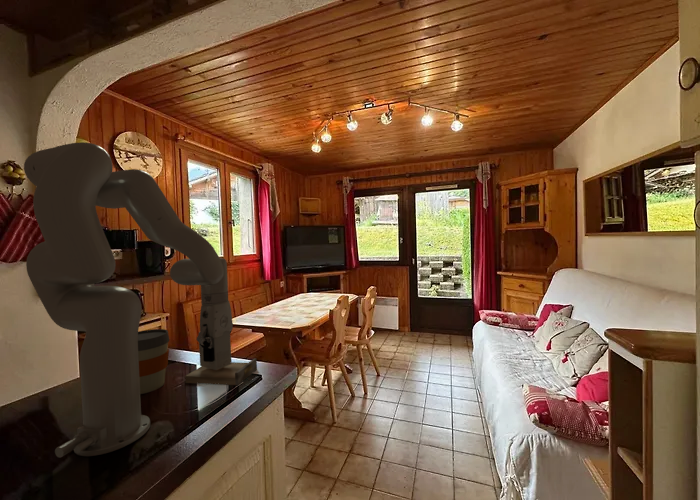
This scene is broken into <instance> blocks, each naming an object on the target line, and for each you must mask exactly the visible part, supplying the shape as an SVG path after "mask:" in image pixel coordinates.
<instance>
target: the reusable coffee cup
mask: <svg viewBox="0 0 700 500" xmlns="http://www.w3.org/2000/svg"><path fill="white" fill-rule="evenodd" d="M169 342H170V336H169V331H168V330H167V329H165V328H164V329H162V328H157V329H156V328H155V329H145V330H138V359H139V379H140V395H143V394H147V393H150V392H155V391H157V390H158V389H160V388H161V387H163V386H164V385H165V379H166V369H167V367H168V365H169V356H170V355H169V352H170V350H169V349H168V347H169Z"/></svg>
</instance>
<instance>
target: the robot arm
mask: <svg viewBox="0 0 700 500" xmlns="http://www.w3.org/2000/svg"><path fill="white" fill-rule="evenodd" d="M23 164H24V165H23V170H24V174H25V176H26V178H27V179H28V180H29V181H30V183H31V184H33V185H34V186H35V189H34V193H33V202H32V203H33V204H32V205H33V212H34V217H35V219H36V223H37V224H38V227H39V229H40V232H41V234H42V237H43V240H44V241H42V242H40V243H38V244H36V245H35V246H34V247H33V248H32V249H31V250H30V251H29V253H28V255H27V258H26V262H25V263H26V264H25V266H26V267H25V268H26V273H27V276H28V278H29V281H30V282H31V284H32V286H33V288H34V290H35V291H36V294H37V296H38V298H39V300H40V302H41V303H42V304H43V305H42V306H43V307H44V309H45V311H46V313H47V315H48V316H49V318H50V319H51V320H52V321H53V323H55V324H56V325H57V326H58V327H60V328H62V329H65V330H69V331H76V332H85V336H84V340H83V342H82V346H81V348H80V353H79V370H80V371H79V373H80V387H81V388H80V390H81V405H82V406H81V407H82V409H81V410H82V425H80V426H79V427H77V429H76V432H77V434H75V435H74V436H73V438H71V439H70V440H68V441H66V442H64V443H62V444H61V445H59V446H57V447H56V448H55V450H54V453H55V456H56V457H57V458H63V457H64V456H66V455H68V454H69V453H71V452H72V451H73V452H74V454H76V455H77V456H80V457H95V456H100V455H106V454H108V453H112V452H114V451H117V450H120V449H122V448H125V447H126V446H128V445H131V444H133V443H134V442H136V441H137V440H139V439H140V438H141V437H143V436H144V435H145V434H146V433H147V432H148V430H149V429H150V427H151V419H150V417H149V416H147V415H145V414H142V407H141V406H142V404H141V403H142V402H141V394H140V379H139V359H138V332H139V329H140V322H141V318H142V317H141V316H142V302H141V300H140V298H139V296H138V295H137V293H136V292H134V291H133V290H131V289H128V288H126V287H123V286H118V285H95V284H99V283H103V282H104V281H106V280H108V279H110V278H111V276H113V274H114V273H115V270H116V260H115V256H114V253H113V251H112V249H111V245H110V243H109V241H108V238H107V235H106V234H105V232H104V229H103V227H102V223H101V222H100V218H99V216H98V212H97V207H100V208H105V209H111V210H112V209H115V210H117V209H123V208H125V209H126V211H127V212H128V213H129V215H130V217H132V218H133V220H134V222H135V223H136V224H137V226H138V227H139V228H140V230H141V231H142V232H143V234H144V235H145V236H146V238H147V239H148V240H150V241H152V242H154V243H156V244H159V245H161V246H164V247H165V248H166V247H167V248H169V249H172V250H175V251H177V252H179V253H180V254H183V256H186V257H187V258H183V259H179V260H177V261H176V262H174V263H173V264H172V265H171V267H170V271H169V275H170V278H171V279H172V281H173V282H175V283H176V284H178V285H181V286H200V299H201V302H200V304H201V305H200V306H201V307H200V313H199V314H200V315H199V332H200V333H199V332H198V335H197V337H196V341H197V342H198V345H199V344H200V345H201V347H202V348H203V359H204V361H205V362H213V361H214V348H212V346H213V338H214V339H216V338H219V337H221V336H222V335H223V333H224V332H225V331H227V330H229V331H230V334H231V333H232V330H233V328H234V322H233V314H232V308H231V303H230V300H229V289H228V288H229V287H228V286H229V285H228V284H229V283H228V264H227V259H226V258H223V257H220V256H219V254H218V253H217V250H215V248H214V247H213V245H212V244H211V243H210V242H209V241H208V240H207V239H206V238H205V237H203V236H202V235H201V234H199V232H197V231H195V230H194V229H193V228H191V227H190V226H188V225H186V224H185V223H184V222H182V220H181V219H180V218H179V216H178V214H177V213H176V211H175V210H174V208H173V207H172V205H171V203H170V201H169V200H168V199H167V197H166V195H165V193H163V191H162V189H161V187H160V186H159V185H158V183H157V181H156V180H155V179H154V177H153V176H152V175H151V174H149V173H148V172H147V171H145V170H141V169H123V170H116V171H113V169H114V168H113V167H114V165H113V161H112V158H111V156H110V154H109V153H108V151H106V150H105V148H103V147H101V146H100V145H98V144H96V143H92V142H72V143H67V144H61V145H58V146H55V147H50V148H45V149H41V150H38V151H35V152H32V153H31V154H30V155H28V156H27V158H26V159H25V160H24V163H23ZM208 335H210V337H208ZM230 338H231V335H230ZM207 340H210V342H209V343H208V342H207Z"/></svg>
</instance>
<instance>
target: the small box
mask: <svg viewBox="0 0 700 500" xmlns="http://www.w3.org/2000/svg"><path fill="white" fill-rule="evenodd" d="M199 333H200V331H199V332H198V334H199ZM230 336H231V333H230V331H229V330H227V331H225V332H224V333H223V335H222V336H221V337H219V338H216V339H214V338H213V346H212V348H214V361H213V362H205V361H204V359H203V348H202V347H201V345H200V344H199V343H198V348H199V351H198V352H199V367H201V366H202V367H206V368H209V369H213V370H218V369H220V368H223V367H225V366H228V365H230V364H232V362H233V361H232V345H231V337H230ZM208 337H210V335H208ZM207 342H208V343H209V342H210V340H207Z"/></svg>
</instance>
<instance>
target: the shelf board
mask: <svg viewBox="0 0 700 500" xmlns="http://www.w3.org/2000/svg"><path fill="white" fill-rule="evenodd" d="M257 360H258V359H257V358H253V359H251V360H250V361H249V362H239V361H237V362H235V361H234V362H233V361H232V364H230V365H228V366H225V367H223V368H220V369H218V370H213V369H209V368H206V367H202V366H199V367H198V368H197V369H195V370H193V371H191V372H190V373H187V374H186V375H185V376H184V378H185V383H186V384H198V385H199V384H201V385H202V384H203V385H205V384H206V385H220V386H222V385H224V386H239V385H240V384H241V383H243V382H244V381H245V380H246V379H248V378H249V377H250V376H251V375H252V374H254V373H255V372H256V371H257V370H258V363H257V362H258V361H257Z"/></svg>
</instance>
